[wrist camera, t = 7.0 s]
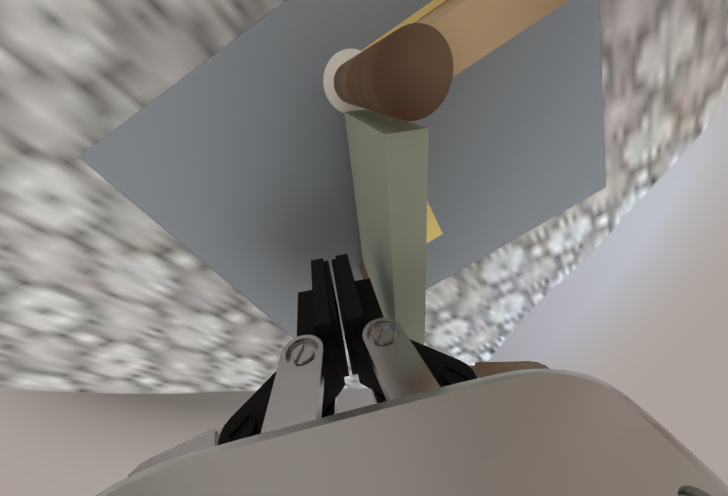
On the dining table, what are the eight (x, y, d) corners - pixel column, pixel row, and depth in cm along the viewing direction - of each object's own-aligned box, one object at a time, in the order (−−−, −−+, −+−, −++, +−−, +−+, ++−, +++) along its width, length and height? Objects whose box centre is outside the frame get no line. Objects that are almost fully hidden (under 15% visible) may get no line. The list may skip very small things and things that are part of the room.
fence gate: (338, 112, 14) (378, 139, 6) (372, 108, 14) (450, 129, 7) (361, 279, 19) (396, 395, 12) (385, 274, 19) (435, 385, 12)
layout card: (581, -219, 10) (593, -233, 10) (600, 185, 20) (607, 187, 20) (84, 155, 13) (76, 157, 13) (312, 350, 23) (312, 355, 23)
